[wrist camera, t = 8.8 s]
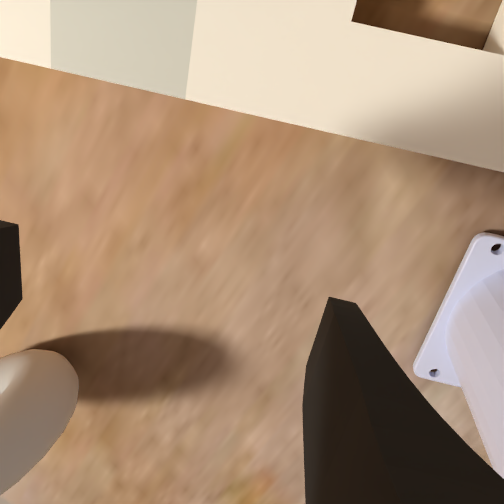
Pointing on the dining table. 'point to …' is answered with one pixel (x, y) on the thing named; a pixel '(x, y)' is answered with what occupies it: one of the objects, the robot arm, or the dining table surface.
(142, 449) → the dining table surface
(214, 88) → the peg board
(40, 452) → the donut
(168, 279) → the dining table surface
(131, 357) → the dining table surface
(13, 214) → the dining table surface
